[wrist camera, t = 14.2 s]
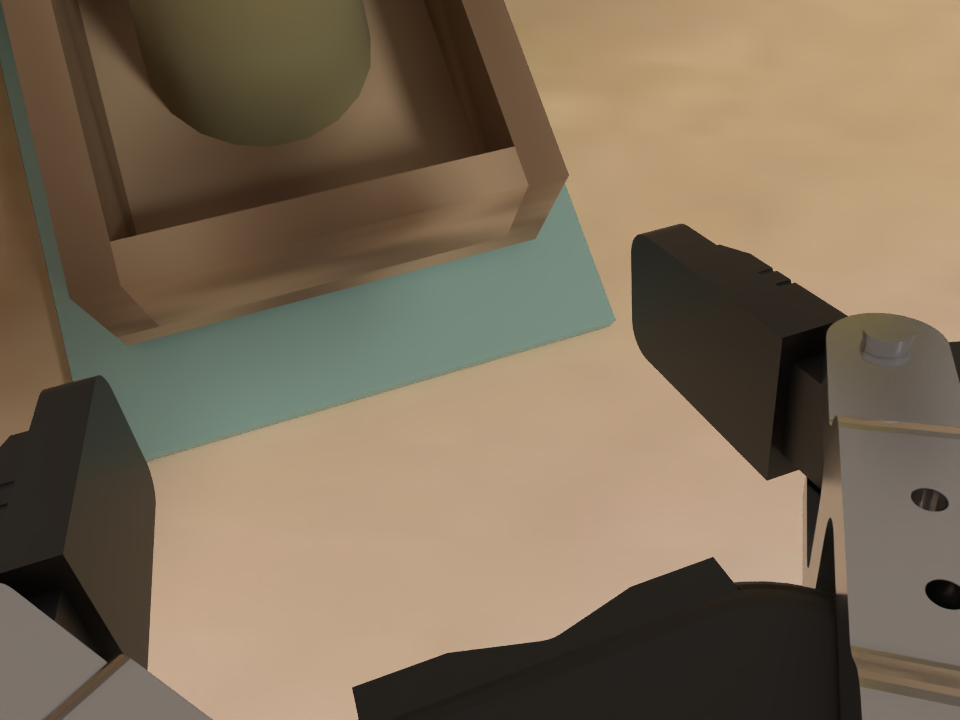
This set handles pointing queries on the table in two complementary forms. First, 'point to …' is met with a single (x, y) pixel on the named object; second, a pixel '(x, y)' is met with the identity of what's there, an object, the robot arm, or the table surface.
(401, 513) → the table surface
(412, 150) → the wooden tray
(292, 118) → the olive knob
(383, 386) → the track and backstop
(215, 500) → the table surface
